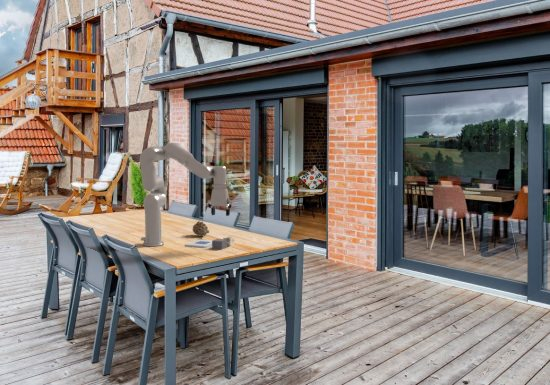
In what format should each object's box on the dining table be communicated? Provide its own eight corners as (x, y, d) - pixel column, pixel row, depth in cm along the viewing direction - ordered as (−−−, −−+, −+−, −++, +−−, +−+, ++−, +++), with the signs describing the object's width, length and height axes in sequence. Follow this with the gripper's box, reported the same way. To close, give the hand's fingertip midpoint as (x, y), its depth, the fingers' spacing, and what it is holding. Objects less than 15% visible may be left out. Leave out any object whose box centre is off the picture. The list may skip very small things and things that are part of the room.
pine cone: (188, 235, 332) (188, 220, 331) (201, 233, 338) (201, 219, 337) (204, 240, 314) (204, 225, 314) (217, 238, 320) (217, 223, 319)
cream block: (223, 245, 297) (223, 237, 296) (226, 244, 301) (226, 236, 301) (230, 246, 295) (230, 238, 294) (234, 245, 299) (234, 237, 299)
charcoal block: (212, 248, 287) (212, 240, 287) (217, 246, 293) (217, 238, 293) (221, 249, 285) (221, 241, 284) (226, 247, 291) (226, 239, 290)
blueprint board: (185, 246, 294) (185, 244, 294) (200, 241, 311) (200, 239, 311) (205, 247, 289) (205, 246, 289) (219, 242, 306) (219, 240, 306)
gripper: (204, 186, 288) (204, 215, 289) (230, 187, 281) (230, 216, 283) (210, 186, 295) (210, 213, 296) (236, 186, 288) (236, 215, 289)
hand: (220, 215), depth 289 cm, fingers open, 9 cm apart
